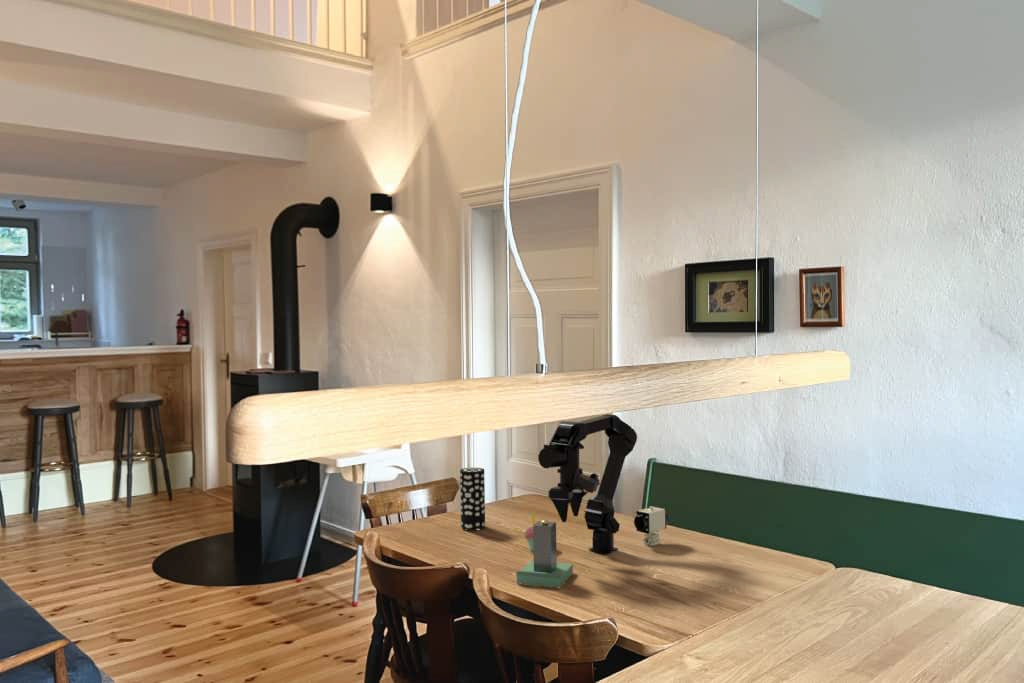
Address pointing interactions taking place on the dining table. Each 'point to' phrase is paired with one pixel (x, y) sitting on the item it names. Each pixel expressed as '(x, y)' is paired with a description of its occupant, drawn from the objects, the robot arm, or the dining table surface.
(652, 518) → the white security camera
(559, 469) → the robot arm
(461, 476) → the white-spotted black cylinder
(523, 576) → the coupler stand
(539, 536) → the block
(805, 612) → the dining table surface
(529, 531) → the cupcake
